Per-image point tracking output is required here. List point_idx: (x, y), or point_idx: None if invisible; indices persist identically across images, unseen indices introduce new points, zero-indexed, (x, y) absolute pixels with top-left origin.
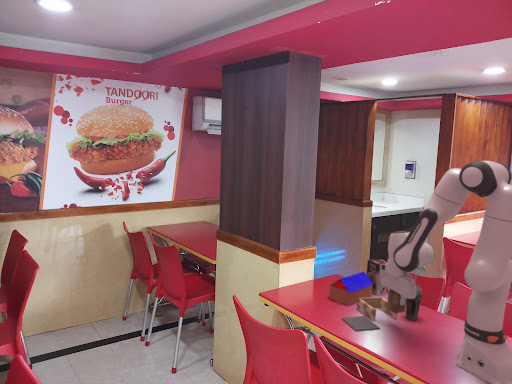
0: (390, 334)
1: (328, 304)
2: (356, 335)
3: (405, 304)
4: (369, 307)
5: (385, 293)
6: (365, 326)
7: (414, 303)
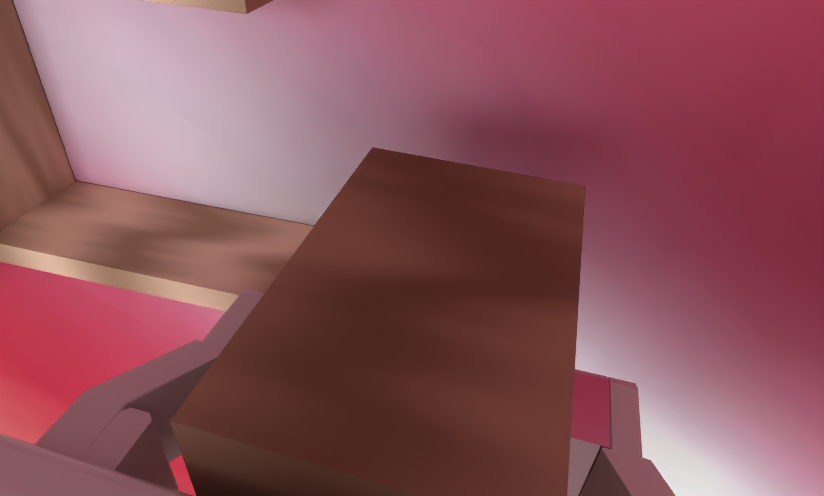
0: (618, 299)
1: (20, 327)
2: None
3: (579, 278)
4: (200, 299)
5: None
6: None
7: None
